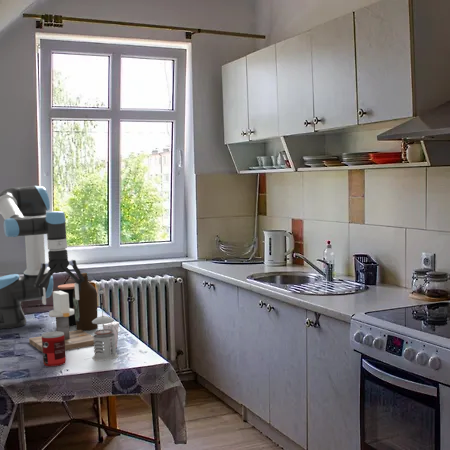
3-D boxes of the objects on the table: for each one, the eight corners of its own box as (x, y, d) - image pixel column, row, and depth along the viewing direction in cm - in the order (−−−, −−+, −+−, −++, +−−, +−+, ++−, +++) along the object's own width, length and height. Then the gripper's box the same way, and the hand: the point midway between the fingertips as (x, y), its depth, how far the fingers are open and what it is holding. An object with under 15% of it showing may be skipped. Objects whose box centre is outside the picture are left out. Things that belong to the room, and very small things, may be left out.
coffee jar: (77, 326, 297) (75, 287, 296) (55, 326, 299) (53, 287, 298) (87, 321, 307) (84, 283, 306) (66, 321, 309) (63, 283, 308)
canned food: (45, 361, 240) (43, 332, 239) (67, 359, 240) (65, 330, 240) (41, 367, 232) (39, 336, 231) (64, 365, 233) (62, 335, 232)
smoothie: (106, 350, 251) (104, 314, 250) (102, 347, 257) (99, 312, 256) (122, 348, 254) (120, 312, 253) (117, 344, 260) (115, 309, 259)
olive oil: (96, 324, 298) (93, 270, 296) (101, 329, 289) (98, 273, 287) (73, 327, 294) (69, 272, 292) (77, 332, 284) (73, 275, 283)
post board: (29, 343, 269) (27, 315, 268) (80, 334, 281) (79, 307, 280) (44, 353, 250) (42, 323, 250) (99, 344, 262) (97, 315, 261)
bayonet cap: (46, 314, 266) (44, 292, 266) (69, 310, 272) (68, 289, 271) (54, 318, 256) (53, 296, 256) (79, 315, 262) (77, 293, 261)
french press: (106, 352, 249) (102, 287, 247) (127, 356, 242) (123, 289, 240) (86, 358, 241) (82, 291, 240) (106, 362, 234) (102, 294, 232)
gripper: (28, 253, 253) (32, 307, 255) (90, 247, 266) (93, 298, 268) (23, 252, 259) (27, 304, 261) (84, 246, 272) (87, 296, 274)
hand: (61, 301), depth 264 cm, fingers open, 13 cm apart
